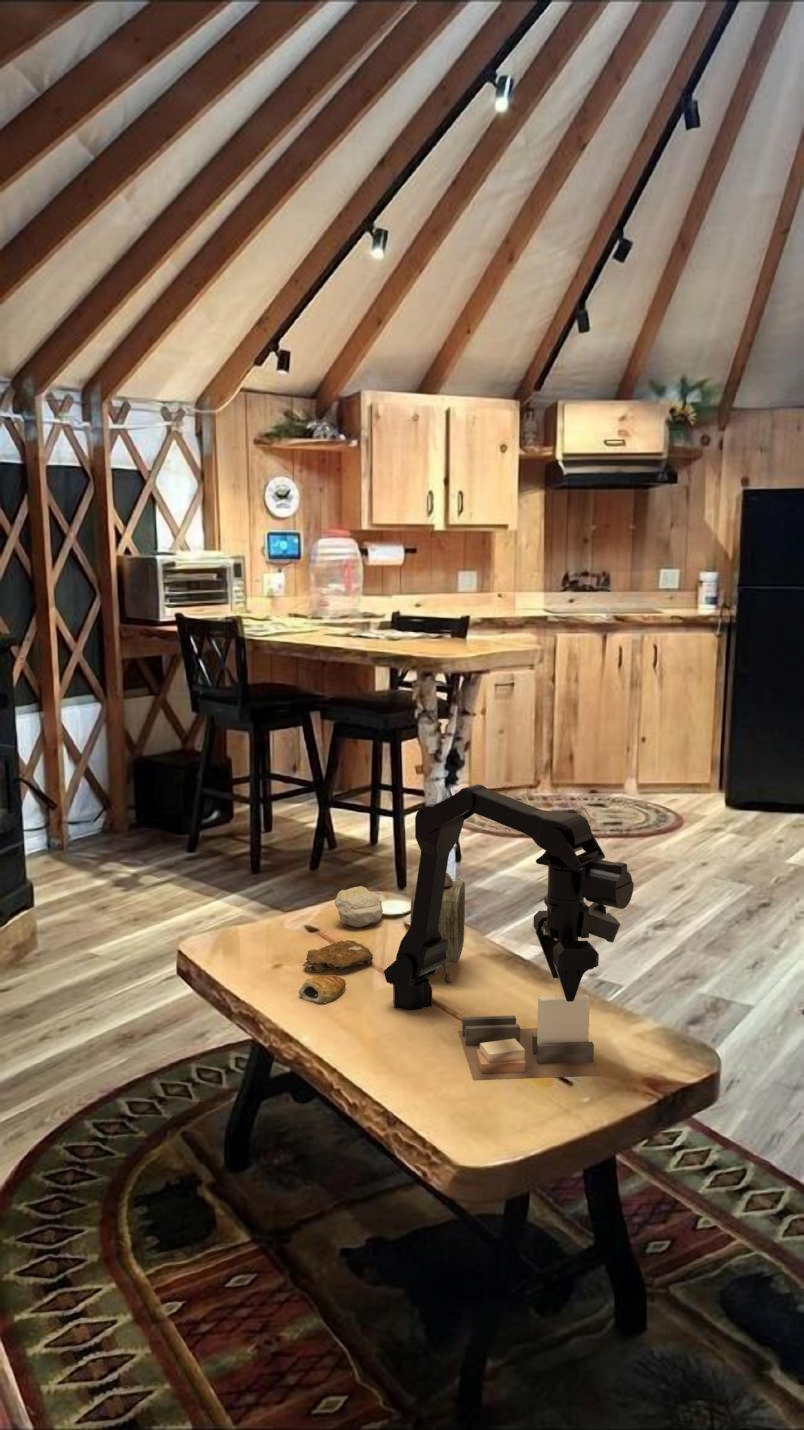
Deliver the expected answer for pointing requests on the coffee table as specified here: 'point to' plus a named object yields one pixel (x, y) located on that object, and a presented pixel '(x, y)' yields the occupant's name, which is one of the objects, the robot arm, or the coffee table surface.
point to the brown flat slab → (337, 956)
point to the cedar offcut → (499, 1065)
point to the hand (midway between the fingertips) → (562, 989)
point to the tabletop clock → (451, 920)
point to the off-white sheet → (563, 1019)
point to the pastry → (322, 988)
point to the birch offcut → (502, 1051)
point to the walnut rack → (526, 1050)
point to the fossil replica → (358, 907)
